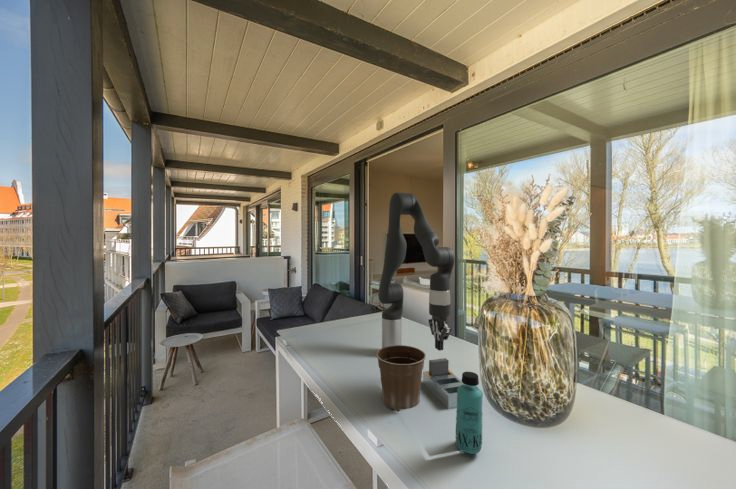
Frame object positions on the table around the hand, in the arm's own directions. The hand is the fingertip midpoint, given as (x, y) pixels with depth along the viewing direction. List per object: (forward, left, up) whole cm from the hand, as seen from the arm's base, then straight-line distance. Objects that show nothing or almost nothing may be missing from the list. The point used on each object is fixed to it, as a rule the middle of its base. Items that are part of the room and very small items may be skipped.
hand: (439, 349), depth 110 cm
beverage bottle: (+32, -9, -14) cm, 36 cm away
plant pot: (+6, -17, -14) cm, 23 cm away
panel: (0, 0, -13) cm, 13 cm away
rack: (+6, 0, -14) cm, 15 cm away
